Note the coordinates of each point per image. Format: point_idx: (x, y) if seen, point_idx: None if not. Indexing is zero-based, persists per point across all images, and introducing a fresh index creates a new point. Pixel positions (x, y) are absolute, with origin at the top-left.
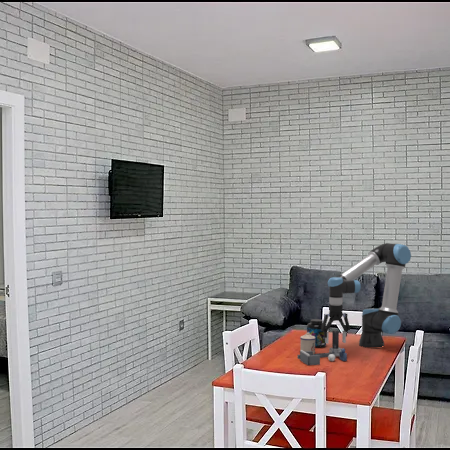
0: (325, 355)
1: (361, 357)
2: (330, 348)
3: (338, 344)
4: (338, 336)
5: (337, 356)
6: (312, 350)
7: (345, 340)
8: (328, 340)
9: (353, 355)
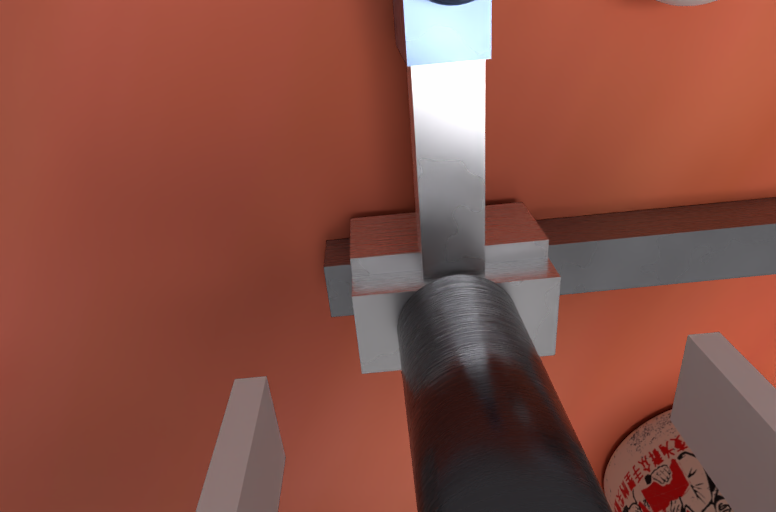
0: (630, 223)
1: (12, 127)
2: (556, 322)
3: (420, 344)
4: (453, 502)
5: None
6: None
7: (228, 421)
8: (738, 388)
9: (133, 268)
